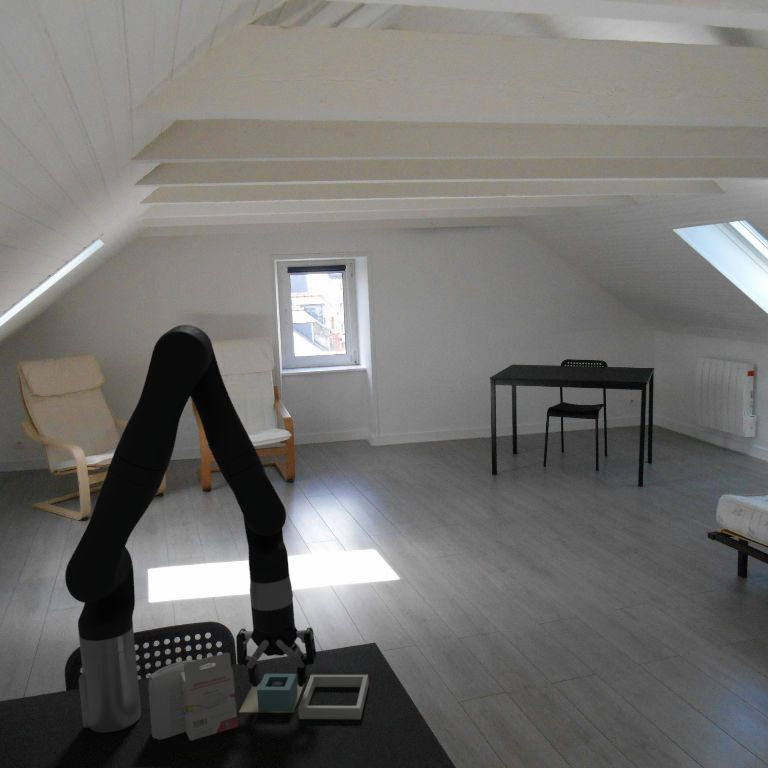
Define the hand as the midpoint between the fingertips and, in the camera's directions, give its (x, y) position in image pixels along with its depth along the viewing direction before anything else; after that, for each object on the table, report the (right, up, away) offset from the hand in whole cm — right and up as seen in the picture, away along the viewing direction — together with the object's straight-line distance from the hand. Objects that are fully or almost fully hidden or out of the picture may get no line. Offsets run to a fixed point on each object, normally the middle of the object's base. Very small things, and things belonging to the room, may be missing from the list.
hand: (279, 684), depth 147 cm
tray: (+10, -4, 0) cm, 11 cm away
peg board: (-2, -4, +3) cm, 5 cm away
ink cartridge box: (-11, -6, -6) cm, 14 cm away
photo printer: (-16, -6, -6) cm, 18 cm away
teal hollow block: (0, -4, +1) cm, 4 cm away
